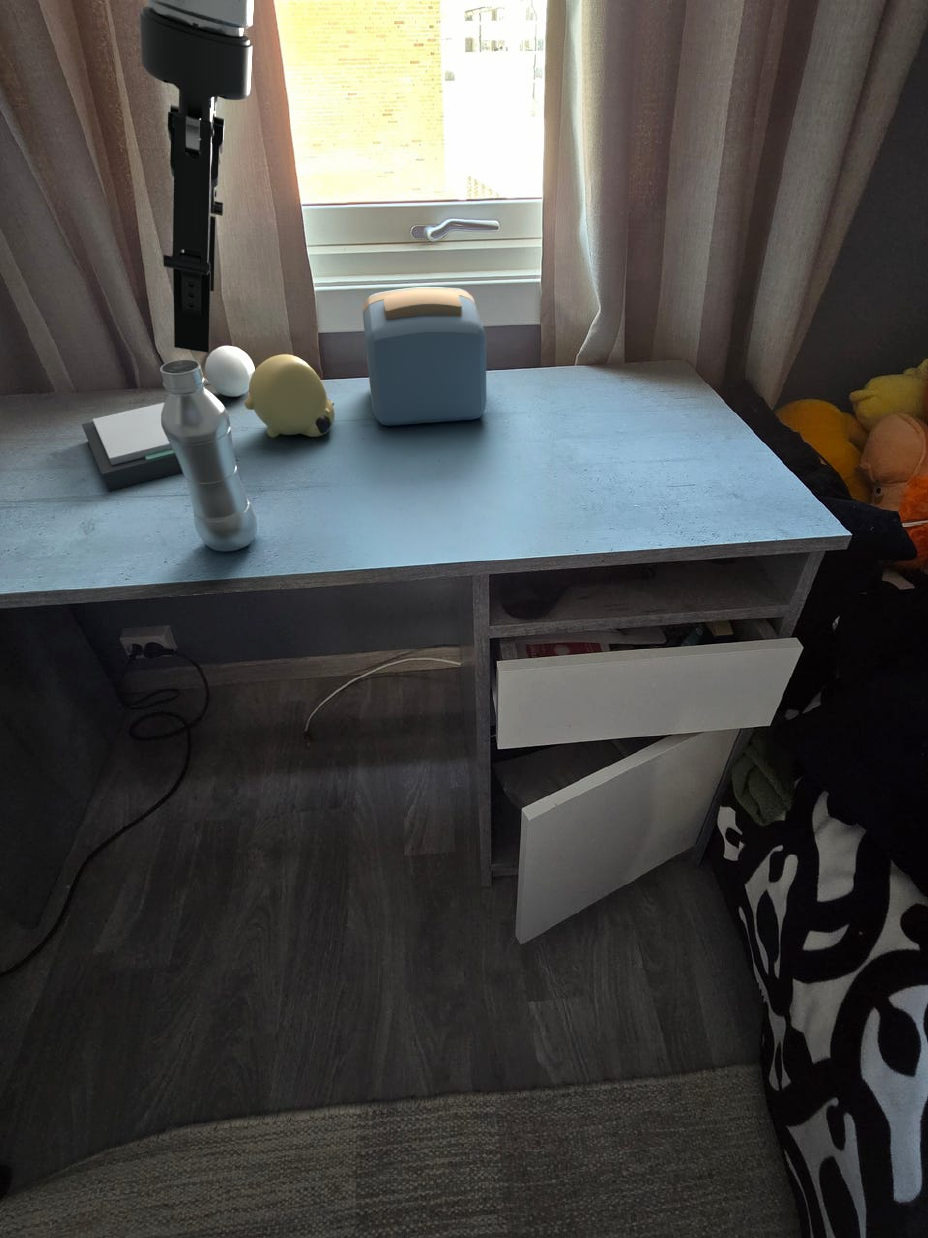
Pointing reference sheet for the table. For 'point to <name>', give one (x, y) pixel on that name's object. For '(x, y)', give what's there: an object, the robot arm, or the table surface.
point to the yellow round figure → (290, 397)
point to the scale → (131, 447)
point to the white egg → (229, 370)
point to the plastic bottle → (206, 457)
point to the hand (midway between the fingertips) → (195, 315)
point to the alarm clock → (425, 355)
